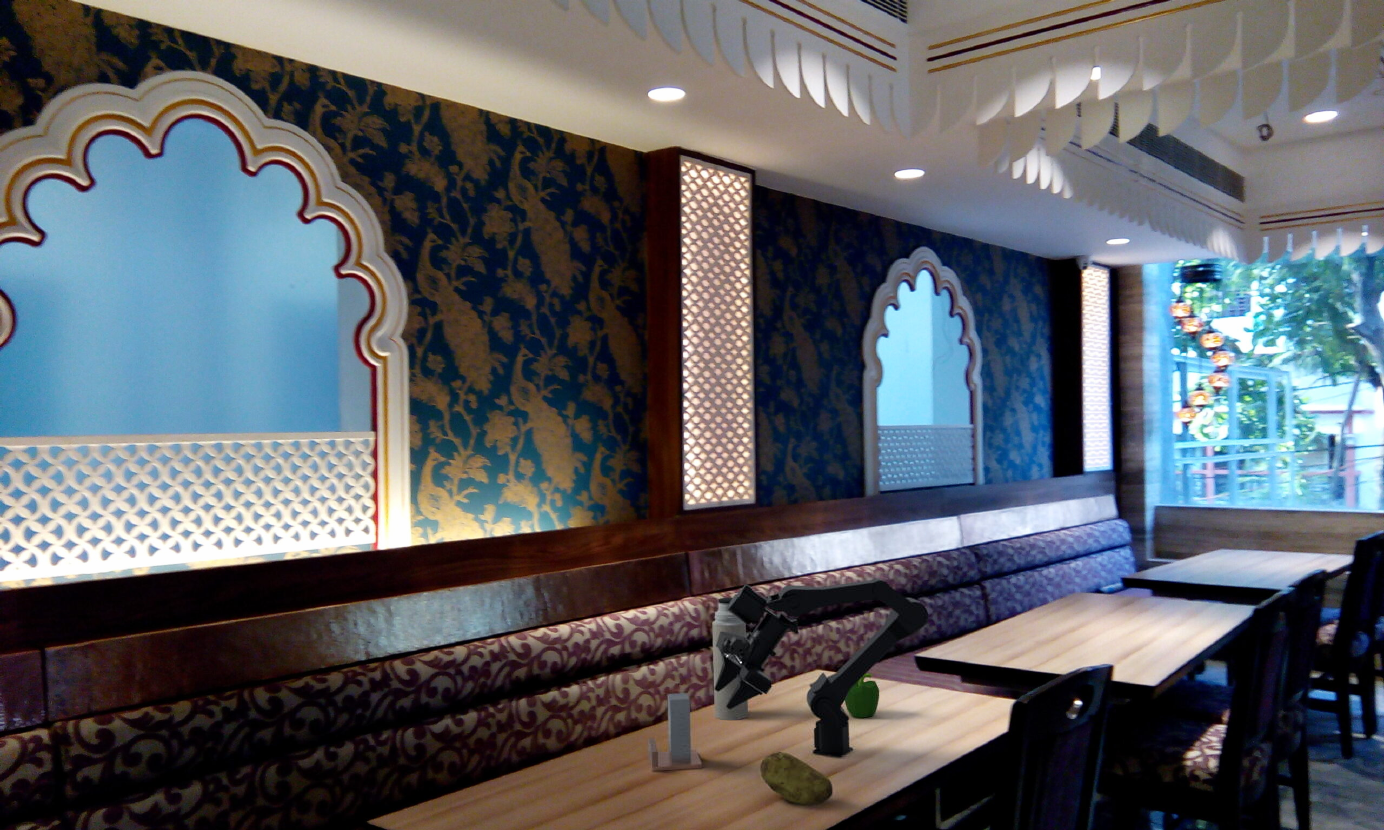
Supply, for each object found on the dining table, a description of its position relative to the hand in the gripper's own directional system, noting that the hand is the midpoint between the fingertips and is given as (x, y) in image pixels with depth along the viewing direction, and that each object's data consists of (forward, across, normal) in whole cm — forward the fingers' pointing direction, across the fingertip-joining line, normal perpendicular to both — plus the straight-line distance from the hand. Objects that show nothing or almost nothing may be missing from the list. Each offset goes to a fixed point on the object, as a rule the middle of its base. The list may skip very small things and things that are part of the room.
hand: (721, 698), depth 212 cm
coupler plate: (+16, +3, -2) cm, 16 cm away
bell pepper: (-11, -17, +41) cm, 46 cm away
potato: (+2, +31, +8) cm, 32 cm away
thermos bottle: (+7, -27, +18) cm, 34 cm away
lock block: (+14, +3, -2) cm, 15 cm away
